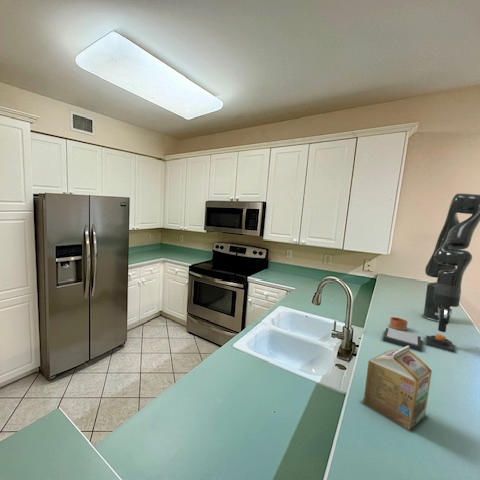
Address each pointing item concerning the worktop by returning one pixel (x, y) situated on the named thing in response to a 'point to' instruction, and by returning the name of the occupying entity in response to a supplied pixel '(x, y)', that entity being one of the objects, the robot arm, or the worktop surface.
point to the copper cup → (398, 323)
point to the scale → (402, 339)
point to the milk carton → (398, 386)
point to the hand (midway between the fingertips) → (441, 331)
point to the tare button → (440, 337)
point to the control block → (439, 343)
